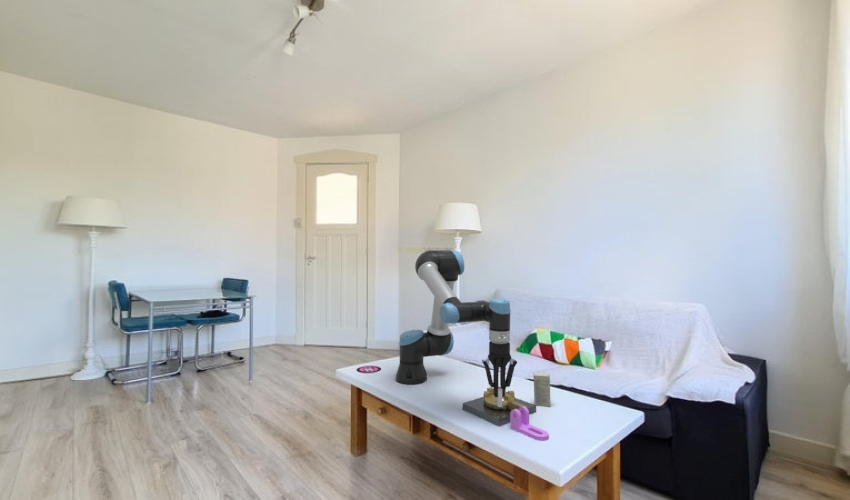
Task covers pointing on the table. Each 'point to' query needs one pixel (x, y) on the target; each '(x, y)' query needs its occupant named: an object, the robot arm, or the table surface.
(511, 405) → the brass notched disc handle
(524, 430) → the bracket
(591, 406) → the table surface
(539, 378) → the skincare box
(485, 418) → the base plate
